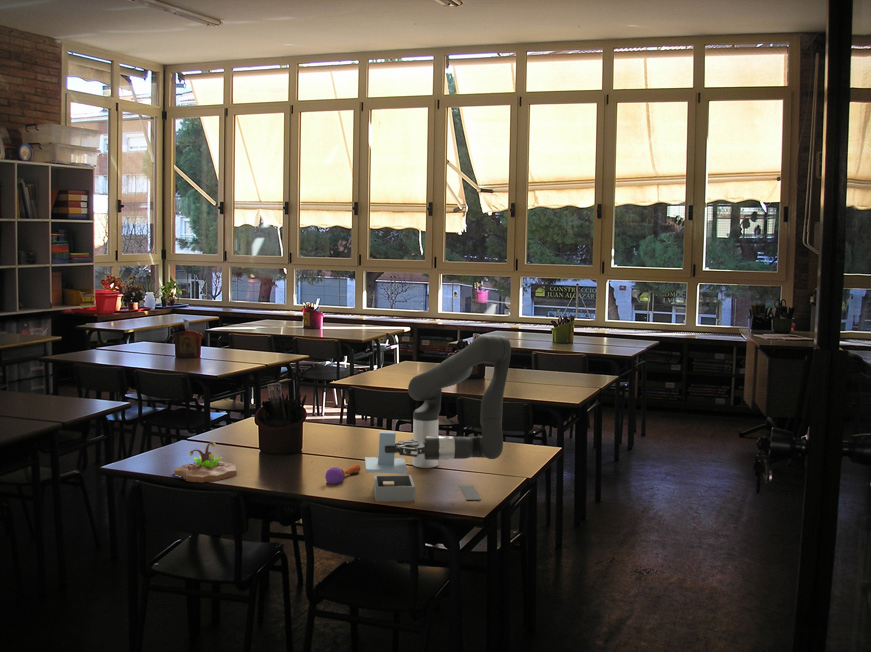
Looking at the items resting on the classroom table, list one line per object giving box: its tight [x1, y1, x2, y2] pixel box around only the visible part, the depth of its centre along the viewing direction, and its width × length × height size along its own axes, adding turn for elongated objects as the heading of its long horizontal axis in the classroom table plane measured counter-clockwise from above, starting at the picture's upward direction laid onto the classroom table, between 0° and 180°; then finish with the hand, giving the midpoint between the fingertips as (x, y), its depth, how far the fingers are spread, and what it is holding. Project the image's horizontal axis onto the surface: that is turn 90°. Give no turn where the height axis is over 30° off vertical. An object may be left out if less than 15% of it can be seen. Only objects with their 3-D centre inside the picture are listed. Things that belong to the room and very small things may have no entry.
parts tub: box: [373, 474, 416, 503], centre depth 253 cm, size 14×12×5 cm
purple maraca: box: [324, 463, 361, 485], centre depth 272 cm, size 6×6×20 cm
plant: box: [173, 441, 238, 484], centre depth 276 cm, size 20×20×11 cm
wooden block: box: [383, 481, 394, 487], centre depth 256 cm, size 4×4×3 cm
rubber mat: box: [458, 484, 482, 501], centre depth 258 cm, size 16×14×1 cm
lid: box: [364, 430, 408, 474], centre depth 252 cm, size 15×13×11 cm
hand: (384, 448), depth 252 cm, fingers closed on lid, 2 cm apart
